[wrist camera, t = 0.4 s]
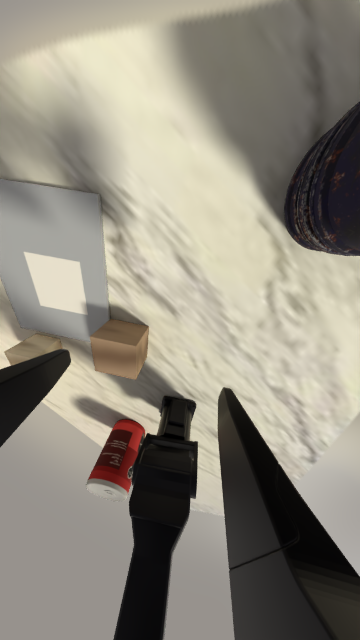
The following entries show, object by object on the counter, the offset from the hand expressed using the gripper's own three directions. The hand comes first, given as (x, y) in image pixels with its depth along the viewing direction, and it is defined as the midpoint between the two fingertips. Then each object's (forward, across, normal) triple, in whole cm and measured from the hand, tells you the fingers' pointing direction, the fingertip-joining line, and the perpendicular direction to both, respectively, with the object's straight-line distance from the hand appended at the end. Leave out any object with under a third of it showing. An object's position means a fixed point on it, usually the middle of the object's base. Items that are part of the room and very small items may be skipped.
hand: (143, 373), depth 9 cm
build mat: (+13, +18, +1) cm, 22 cm away
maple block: (+14, +22, +14) cm, 29 cm away
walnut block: (+14, +7, +8) cm, 17 cm away
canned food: (+14, +6, +35) cm, 39 cm away
